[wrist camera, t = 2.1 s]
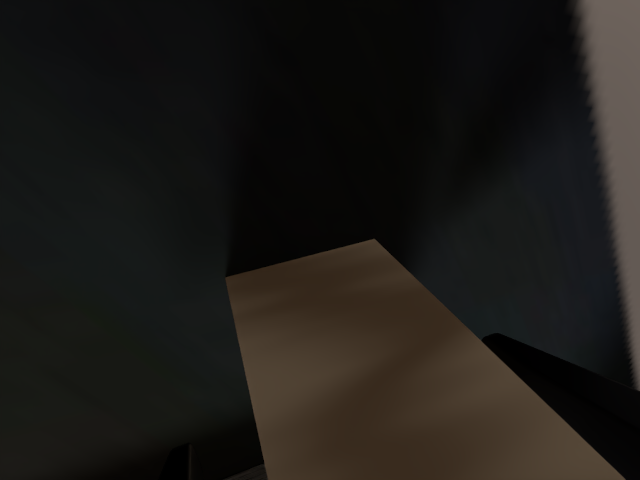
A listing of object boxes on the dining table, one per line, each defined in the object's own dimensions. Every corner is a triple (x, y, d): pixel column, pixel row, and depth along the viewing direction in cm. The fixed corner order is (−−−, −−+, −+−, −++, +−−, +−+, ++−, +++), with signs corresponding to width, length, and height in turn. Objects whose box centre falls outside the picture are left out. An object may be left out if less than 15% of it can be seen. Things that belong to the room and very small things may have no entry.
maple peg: (374, 238, 11) (741, 590, 4) (377, 347, 13) (617, 705, 6) (225, 277, 10) (349, 863, 3) (254, 389, 12) (367, 885, 5)
